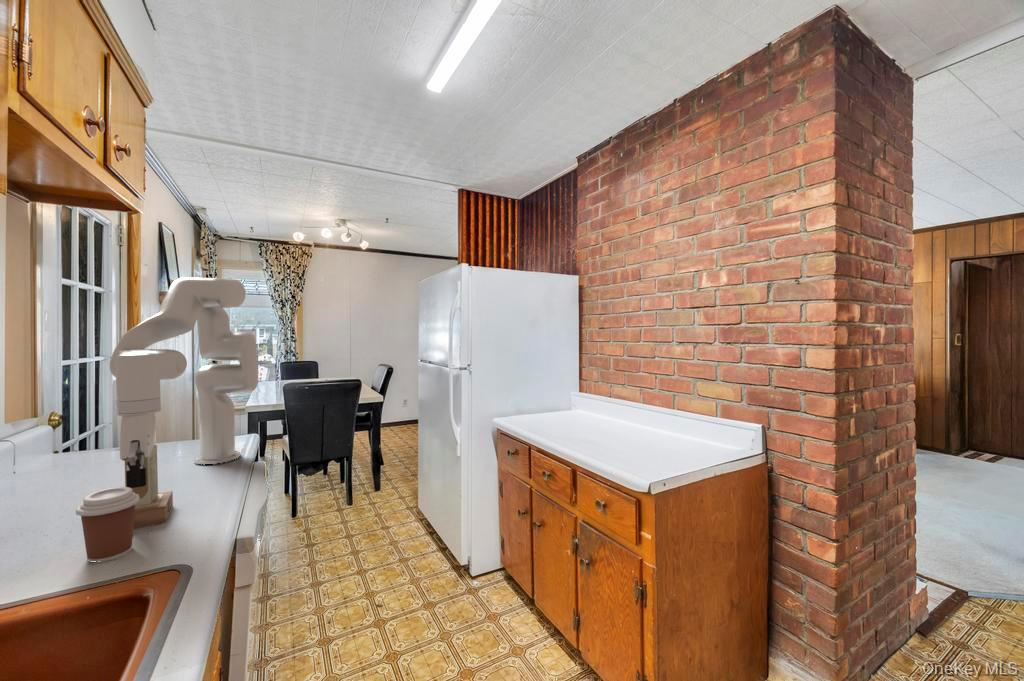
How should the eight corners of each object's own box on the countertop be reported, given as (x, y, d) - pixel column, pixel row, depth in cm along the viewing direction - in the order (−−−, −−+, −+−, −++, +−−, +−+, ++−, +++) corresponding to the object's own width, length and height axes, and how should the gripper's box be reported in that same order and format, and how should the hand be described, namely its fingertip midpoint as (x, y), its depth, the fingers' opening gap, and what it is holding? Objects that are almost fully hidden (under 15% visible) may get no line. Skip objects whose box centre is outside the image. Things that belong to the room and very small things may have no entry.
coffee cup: (132, 537, 89) (131, 481, 89) (147, 550, 84) (146, 491, 84) (71, 556, 82) (69, 495, 81) (83, 572, 77) (81, 507, 76)
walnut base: (118, 515, 99) (118, 498, 99) (172, 506, 105) (172, 490, 104) (106, 533, 91) (105, 515, 91) (165, 522, 96) (165, 505, 96)
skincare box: (135, 497, 100) (134, 446, 99) (159, 494, 102) (157, 444, 101) (124, 508, 94) (123, 454, 94) (149, 505, 96) (147, 451, 95)
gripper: (127, 401, 102) (129, 471, 103) (106, 415, 88) (108, 496, 88) (166, 398, 106) (168, 465, 107) (153, 411, 91) (155, 489, 92)
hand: (141, 479), depth 98 cm, fingers open, 9 cm apart
